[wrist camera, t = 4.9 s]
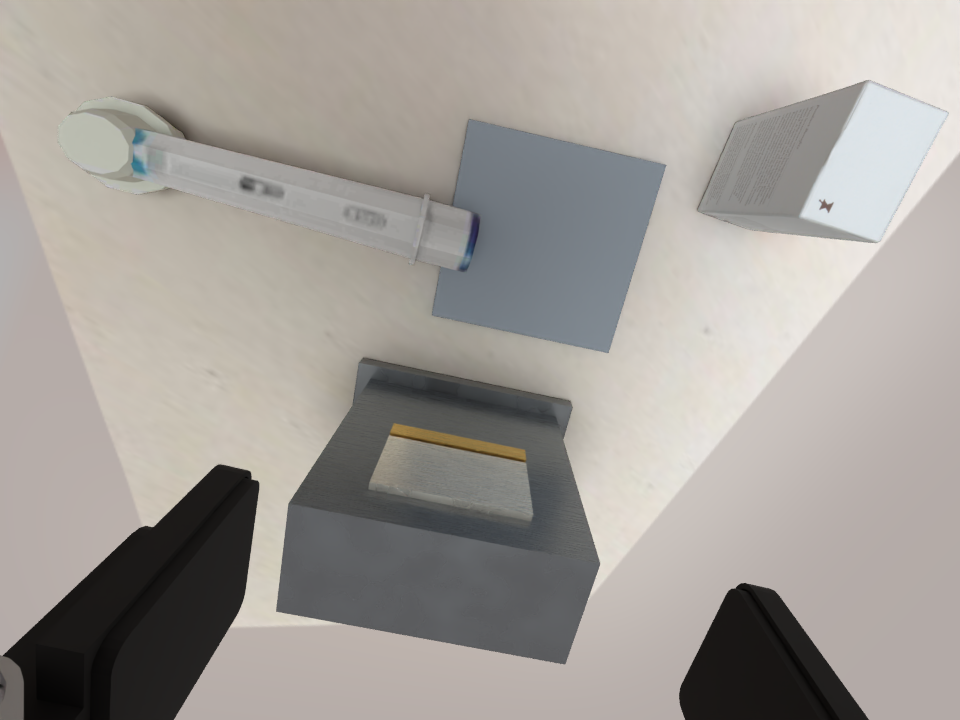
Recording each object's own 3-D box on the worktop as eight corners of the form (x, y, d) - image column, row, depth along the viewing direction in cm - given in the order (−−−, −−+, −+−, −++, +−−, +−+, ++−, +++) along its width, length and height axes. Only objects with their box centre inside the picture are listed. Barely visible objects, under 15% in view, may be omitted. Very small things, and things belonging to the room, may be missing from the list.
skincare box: (752, 231, 35) (879, 248, 24) (694, 211, 35) (795, 219, 23) (795, 139, 33) (956, 110, 22) (735, 117, 33) (866, 76, 21)
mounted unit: (362, 357, 38) (267, 479, 22) (570, 401, 39) (628, 549, 23) (348, 451, 41) (253, 623, 24) (544, 490, 41) (579, 683, 25)
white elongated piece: (464, 289, 32) (16, 176, 28) (459, 270, 38) (94, 176, 34) (486, 203, 30) (15, 70, 26) (478, 199, 36) (97, 91, 32)
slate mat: (469, 120, 33) (469, 119, 32) (662, 165, 34) (666, 165, 33) (432, 312, 37) (431, 315, 36) (605, 349, 38) (608, 352, 37)
